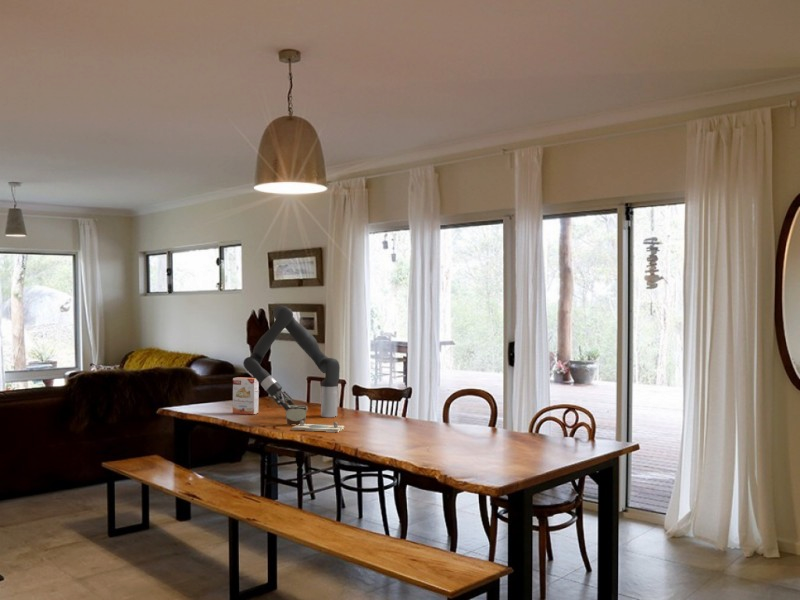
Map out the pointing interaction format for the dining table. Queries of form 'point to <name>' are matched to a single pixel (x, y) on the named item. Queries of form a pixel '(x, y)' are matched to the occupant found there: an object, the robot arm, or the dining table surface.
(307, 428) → the board
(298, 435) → the dining table surface
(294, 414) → the food container
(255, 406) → the cracker box
